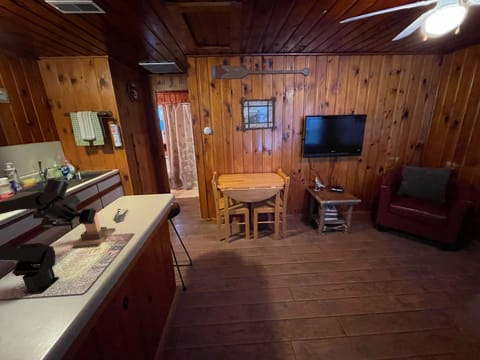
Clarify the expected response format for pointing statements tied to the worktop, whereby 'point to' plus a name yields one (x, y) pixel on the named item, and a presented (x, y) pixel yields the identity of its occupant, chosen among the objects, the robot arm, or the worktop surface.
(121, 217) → the driftwood
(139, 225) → the worktop surface
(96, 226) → the clay rectangular block
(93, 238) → the square socket base
